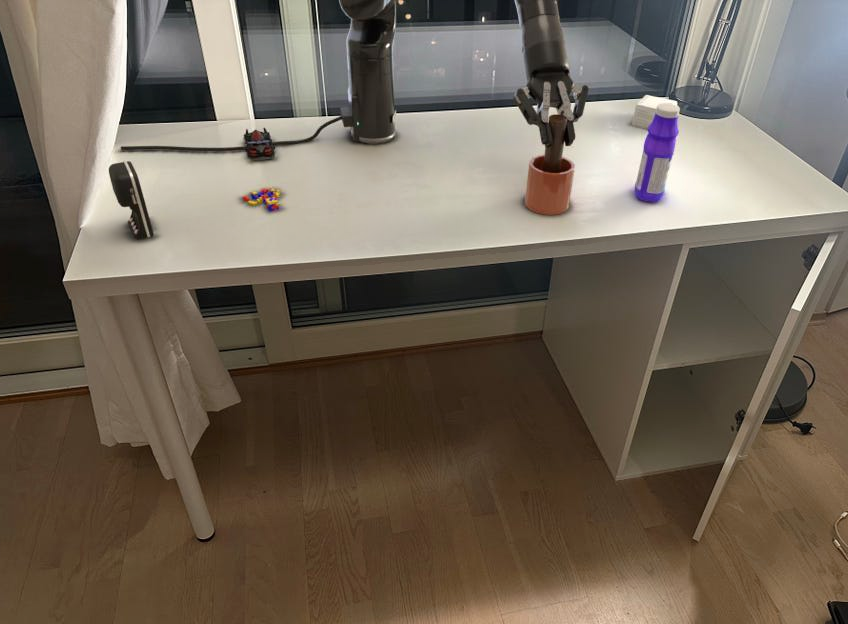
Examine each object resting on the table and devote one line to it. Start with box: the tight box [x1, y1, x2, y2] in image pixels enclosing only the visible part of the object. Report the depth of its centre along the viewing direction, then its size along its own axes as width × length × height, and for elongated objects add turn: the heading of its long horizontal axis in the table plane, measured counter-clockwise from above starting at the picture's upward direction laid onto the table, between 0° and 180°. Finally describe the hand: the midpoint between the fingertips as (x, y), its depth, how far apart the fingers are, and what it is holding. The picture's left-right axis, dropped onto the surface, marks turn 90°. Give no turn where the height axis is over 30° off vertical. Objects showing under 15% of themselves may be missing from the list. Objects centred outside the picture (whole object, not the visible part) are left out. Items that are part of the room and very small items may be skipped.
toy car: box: [242, 127, 276, 161], centre depth 144 cm, size 6×12×4 cm, turn 18°
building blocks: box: [242, 186, 281, 212], centre depth 128 cm, size 6×8×2 cm
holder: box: [524, 154, 576, 216], centre depth 130 cm, size 8×8×8 cm
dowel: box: [543, 113, 567, 173], centre depth 126 cm, size 3×3×13 cm
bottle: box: [634, 103, 681, 203], centre depth 131 cm, size 7×6×17 cm
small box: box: [631, 94, 678, 129], centre depth 163 cm, size 8×8×5 cm
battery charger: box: [108, 160, 155, 239], centre depth 115 cm, size 7×4×11 cm, turn 30°
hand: (559, 144), depth 123 cm, fingers closed on dowel, 3 cm apart
